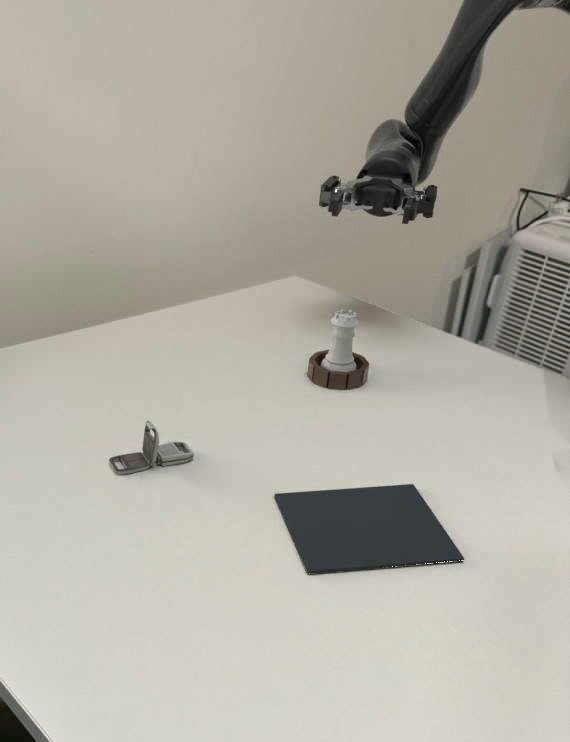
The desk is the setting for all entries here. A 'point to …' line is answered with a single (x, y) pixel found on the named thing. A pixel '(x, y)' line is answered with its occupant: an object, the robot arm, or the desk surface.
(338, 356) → the rook chess piece
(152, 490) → the desk surface
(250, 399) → the desk surface
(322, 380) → the brown segmented bracelet
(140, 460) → the strap clip
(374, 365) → the desk surface
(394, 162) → the robot arm
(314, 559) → the mat
